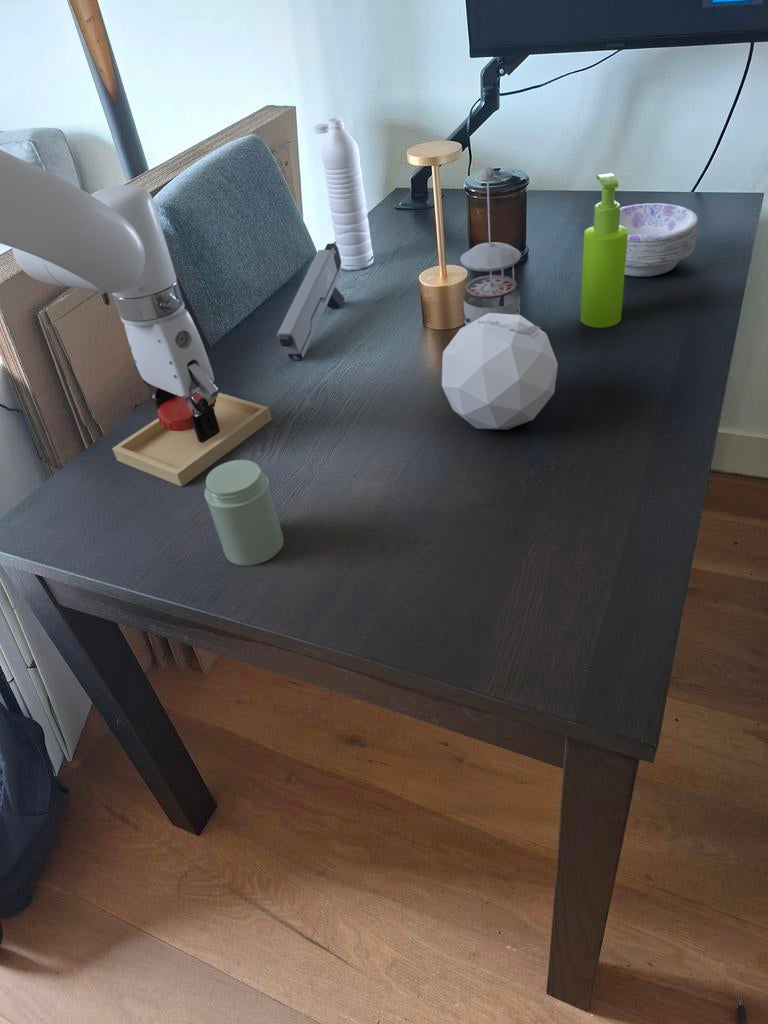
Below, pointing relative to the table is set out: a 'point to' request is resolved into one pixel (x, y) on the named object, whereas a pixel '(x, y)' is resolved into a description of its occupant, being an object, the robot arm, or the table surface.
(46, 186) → the robot arm
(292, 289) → the table surface
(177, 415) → the jar lid
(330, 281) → the gun
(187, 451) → the tray
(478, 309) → the french press
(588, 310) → the soap dispenser
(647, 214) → the paper bowls
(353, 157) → the water bottle
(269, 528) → the jam jar
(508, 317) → the geodesic sphere
